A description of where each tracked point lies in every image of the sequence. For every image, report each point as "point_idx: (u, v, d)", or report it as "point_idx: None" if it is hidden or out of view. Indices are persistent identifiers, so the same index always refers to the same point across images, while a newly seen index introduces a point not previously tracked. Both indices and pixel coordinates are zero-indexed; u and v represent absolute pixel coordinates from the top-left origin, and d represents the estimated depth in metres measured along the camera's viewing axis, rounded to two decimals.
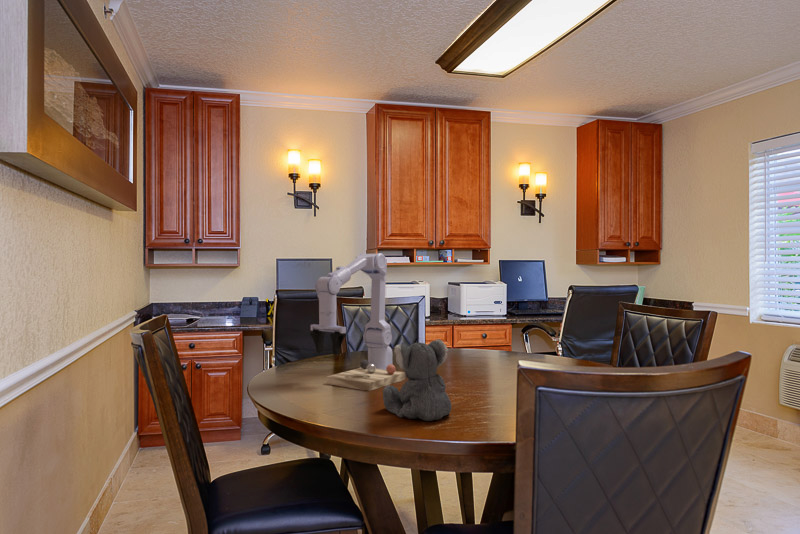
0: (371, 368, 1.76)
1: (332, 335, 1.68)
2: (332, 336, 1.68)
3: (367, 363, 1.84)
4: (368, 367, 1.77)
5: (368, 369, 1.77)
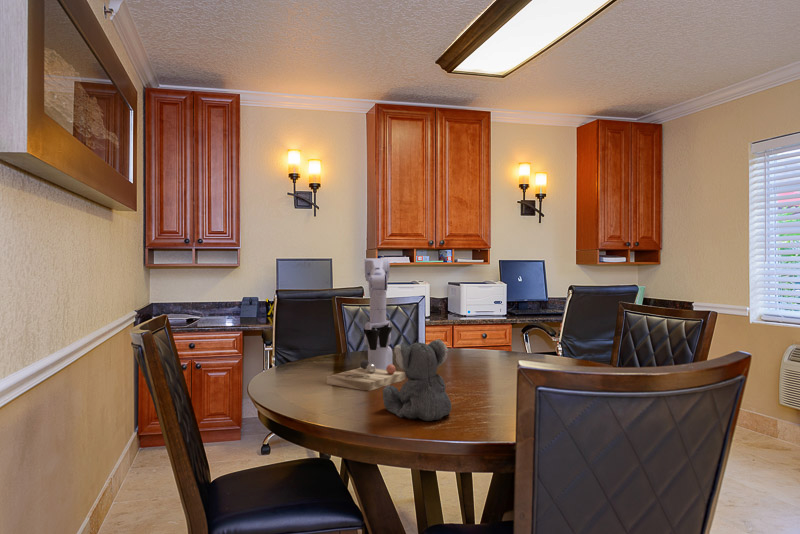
0: (371, 368, 1.76)
1: None
2: None
3: (367, 363, 1.84)
4: (368, 367, 1.77)
5: (368, 369, 1.77)
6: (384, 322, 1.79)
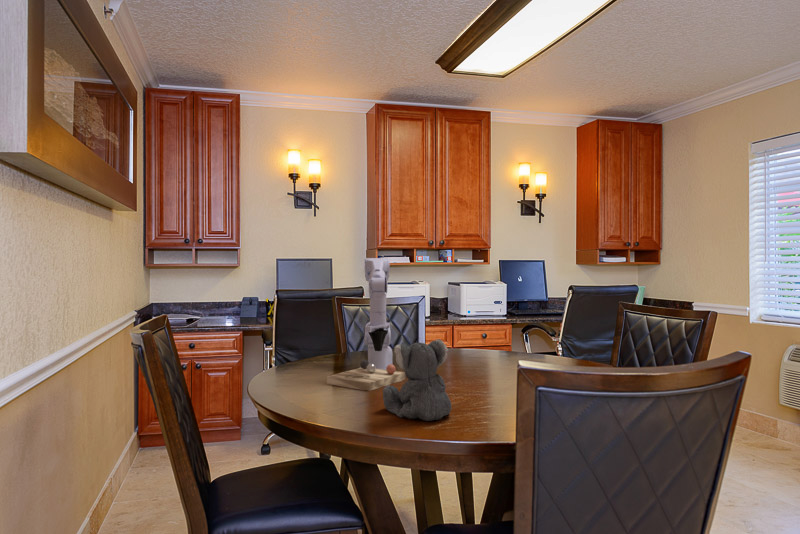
0: (371, 368, 1.76)
1: None
2: None
3: (367, 363, 1.84)
4: (368, 367, 1.77)
5: (368, 369, 1.77)
6: (384, 324, 1.80)
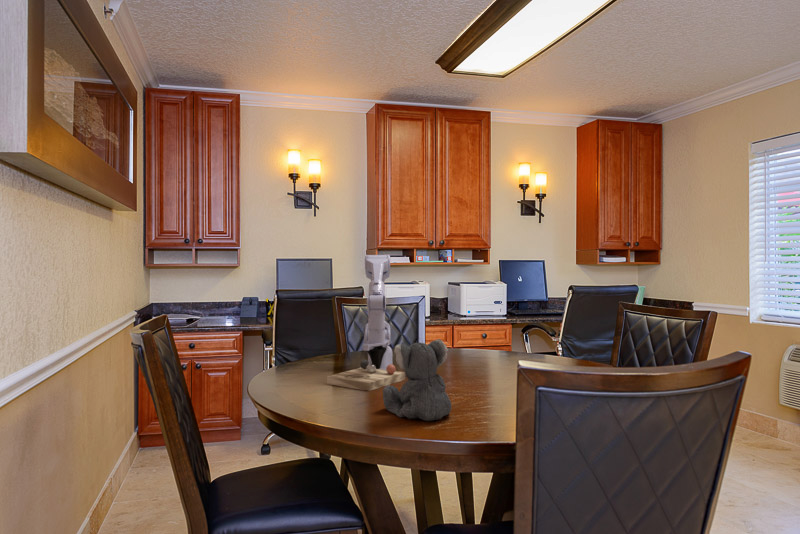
0: (371, 368, 1.76)
1: None
2: None
3: (367, 363, 1.84)
4: (368, 367, 1.77)
5: (368, 369, 1.77)
6: (382, 342, 1.79)
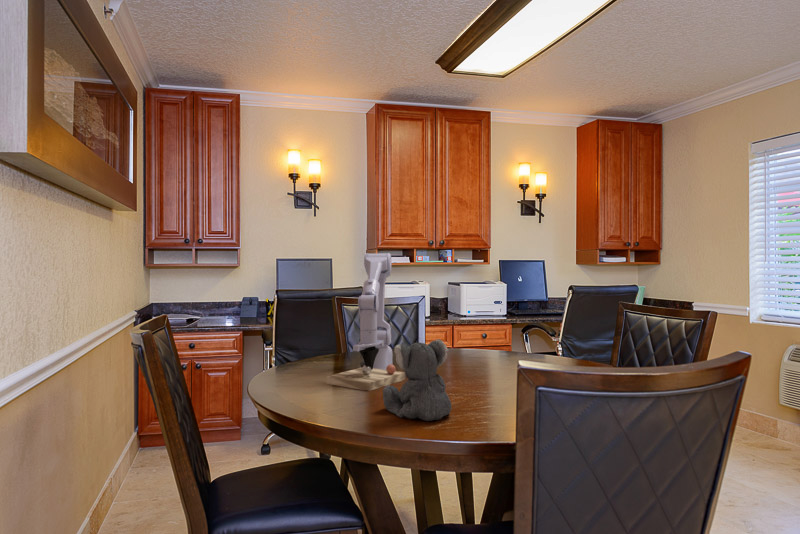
0: (368, 373, 1.75)
1: None
2: None
3: None
4: None
5: None
6: (374, 343, 1.75)
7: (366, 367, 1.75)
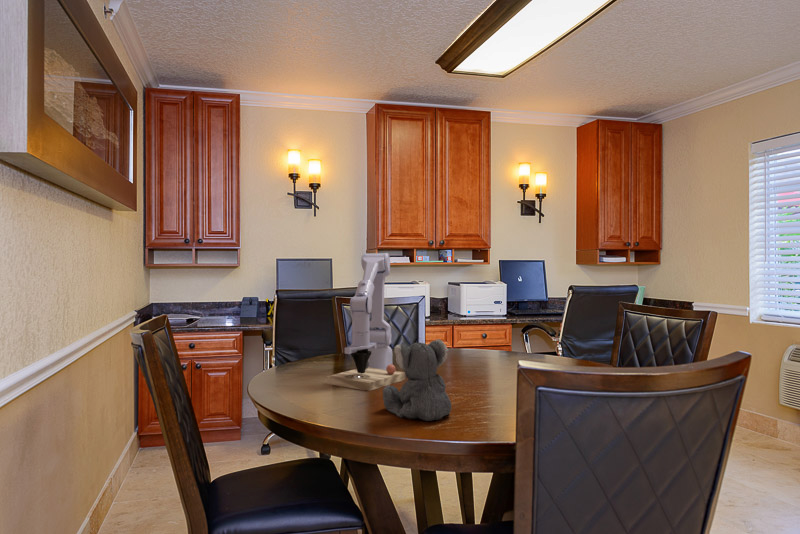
0: None
1: None
2: None
3: (367, 363, 1.84)
4: (355, 377, 1.70)
5: None
6: (366, 346, 1.71)
7: None
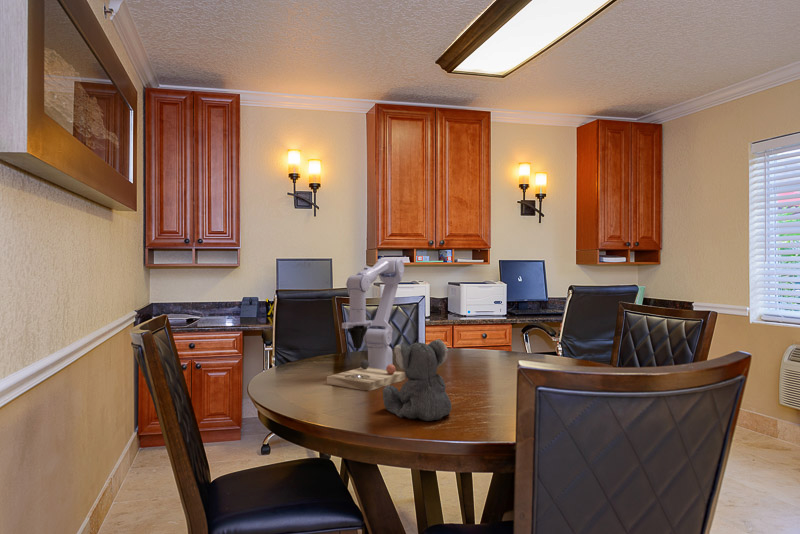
0: (359, 377, 1.71)
1: None
2: None
3: (367, 363, 1.84)
4: (356, 376, 1.71)
5: (355, 377, 1.71)
6: (362, 322, 1.81)
7: None
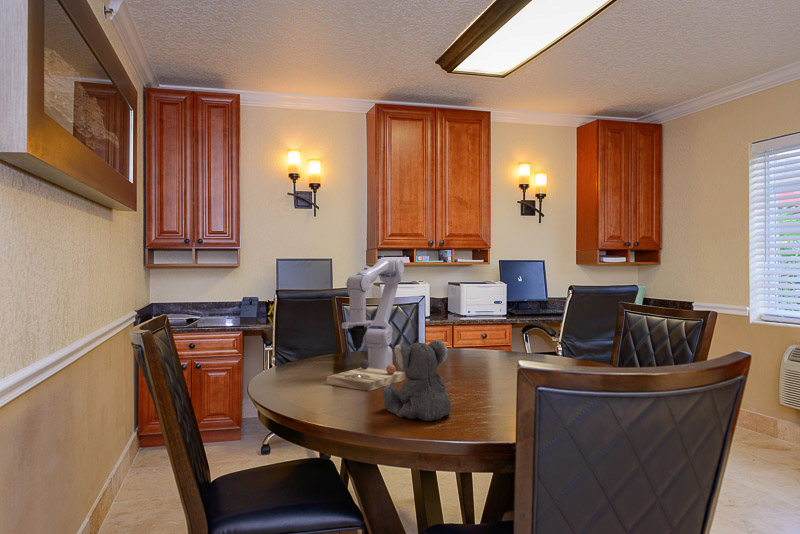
0: (359, 376, 1.71)
1: None
2: None
3: (367, 363, 1.84)
4: (356, 375, 1.72)
5: (355, 376, 1.71)
6: (362, 322, 1.81)
7: None
